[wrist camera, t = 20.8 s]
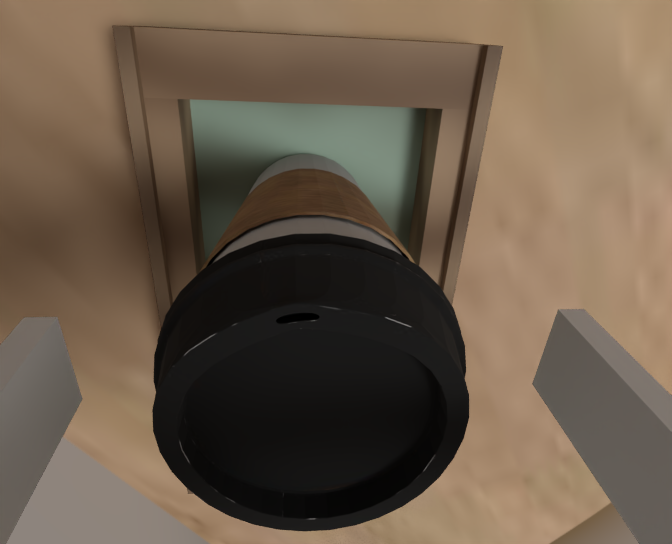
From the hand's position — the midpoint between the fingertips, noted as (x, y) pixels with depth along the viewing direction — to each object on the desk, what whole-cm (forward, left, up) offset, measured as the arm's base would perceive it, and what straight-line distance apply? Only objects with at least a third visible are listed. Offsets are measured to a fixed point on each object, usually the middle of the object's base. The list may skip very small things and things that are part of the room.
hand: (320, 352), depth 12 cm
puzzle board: (+5, 0, -13) cm, 14 cm away
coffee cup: (0, 0, -13) cm, 13 cm away
